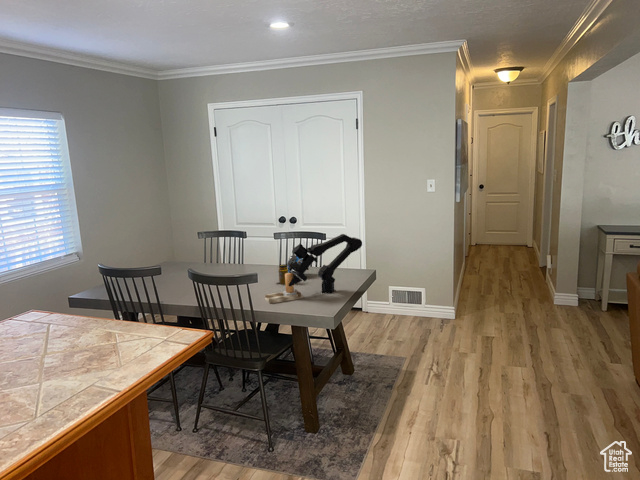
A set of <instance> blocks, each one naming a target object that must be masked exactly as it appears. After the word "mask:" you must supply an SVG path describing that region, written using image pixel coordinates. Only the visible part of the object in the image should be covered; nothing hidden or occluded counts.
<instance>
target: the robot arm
mask: <svg viewBox="0 0 640 480" xmlns="http://www.w3.org/2000/svg"><path fill="white" fill-rule="evenodd" d="M343 243H346V245H345V248H343V250H342V251H340V253H338V254H337V255H336V257H335V258H334V259H332V261H331V262H329V264H327V265H326V264H323V265H322V266H321V267H320V268H319V270H318V272H317V275H318V276H317V277H319V278H320V280H321V281H322V282H321V293H323V294H332V293H334V292H336V289H335V281H336V278H335V277H333V275H334V273H335V270H336V269H337V268H338V267H339V266H340V265H341V264H342V263H343V262H344V261H345V260H346V259H347V258H348V257H349V256H350V255H351V254H352V253H355V252H357V251H358V250H359V249H361V247H362V246H363V241H362V240H361V239H360V238H357V237H351V236H349V235H347V234H344V233H342V234H341V233H340V235H338V236H335V237H333V238H330V239H329V240H326V241H324V242H321V243H315V244H312V245H311V246H310V247H307V248H306V247H304V245H303V244H302V243H299V244H297V245H296V246H295V247H294V248H293V249H292V252H291V253H292V254H293V255H296V256H297V257H298V258H299V259H301V258H302V261H298V263H297V262H296V261H290V260H289V259H288V261H287V264H286V265H287V269H289V270H290V271H289V272H288V273H293V279H292V280H291V282H290V283H289V285H288V286H292V285H294V286H295V285H296V284H298V283H300V282H302V281H303V282H306V281H307V279H308V277H307V276H306V275H305V272H306V271H309V269H310V266H311V265H312V264H313V263H318V257H319V256H321V255H323V254H324V253H325V252H326V251H328V250H329V249H331V248H334V247H336V246H338V245H341V244H343ZM288 266H289V267H288Z"/></svg>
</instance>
